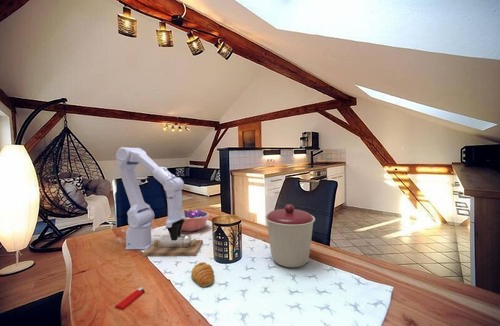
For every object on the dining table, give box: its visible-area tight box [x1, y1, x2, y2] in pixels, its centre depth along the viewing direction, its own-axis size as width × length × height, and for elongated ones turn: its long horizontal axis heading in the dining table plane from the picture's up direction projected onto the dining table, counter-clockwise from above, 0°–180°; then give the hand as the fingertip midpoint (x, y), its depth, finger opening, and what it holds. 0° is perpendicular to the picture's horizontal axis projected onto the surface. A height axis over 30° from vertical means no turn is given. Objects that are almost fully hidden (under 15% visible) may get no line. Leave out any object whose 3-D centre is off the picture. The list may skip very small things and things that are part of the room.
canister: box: [264, 203, 316, 268], centre depth 77 cm, size 18×18×21 cm
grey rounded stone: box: [159, 233, 192, 247], centre depth 88 cm, size 12×4×4 cm, turn 89°
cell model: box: [181, 208, 210, 232], centre depth 112 cm, size 17×20×11 cm
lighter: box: [114, 287, 146, 311], centre depth 58 cm, size 3×1×8 cm
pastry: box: [191, 261, 215, 288], centre depth 66 cm, size 9×7×4 cm
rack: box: [142, 238, 204, 257], centre depth 88 cm, size 21×12×4 cm, turn 89°
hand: (175, 238), depth 88 cm, fingers closed on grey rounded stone, 3 cm apart
